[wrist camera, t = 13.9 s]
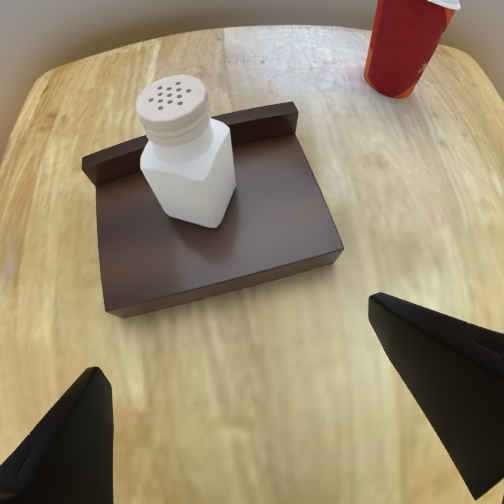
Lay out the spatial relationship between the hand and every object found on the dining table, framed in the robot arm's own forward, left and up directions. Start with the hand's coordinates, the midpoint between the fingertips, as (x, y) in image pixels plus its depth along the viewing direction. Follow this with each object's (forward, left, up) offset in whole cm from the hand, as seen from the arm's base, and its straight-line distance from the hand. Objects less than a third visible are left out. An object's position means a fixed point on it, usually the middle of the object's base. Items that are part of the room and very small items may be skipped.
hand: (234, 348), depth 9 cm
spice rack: (+4, +9, -12) cm, 15 cm away
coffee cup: (+31, +11, -12) cm, 35 cm away
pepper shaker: (+4, +9, -9) cm, 14 cm away
